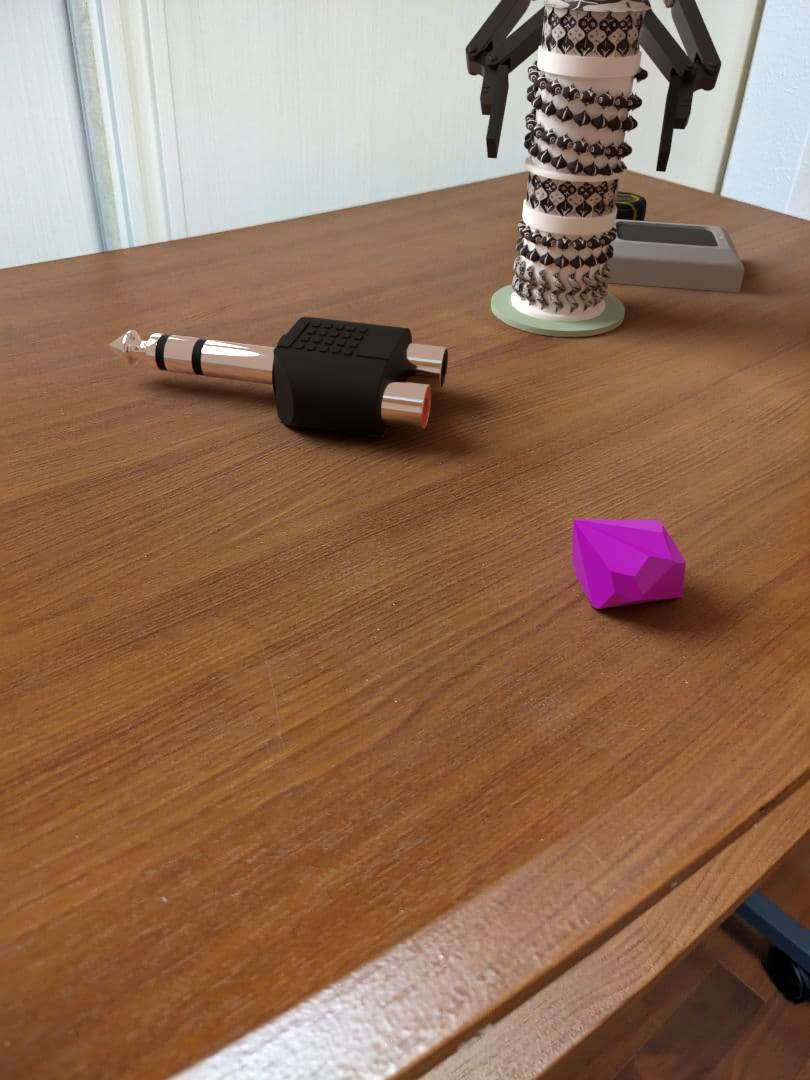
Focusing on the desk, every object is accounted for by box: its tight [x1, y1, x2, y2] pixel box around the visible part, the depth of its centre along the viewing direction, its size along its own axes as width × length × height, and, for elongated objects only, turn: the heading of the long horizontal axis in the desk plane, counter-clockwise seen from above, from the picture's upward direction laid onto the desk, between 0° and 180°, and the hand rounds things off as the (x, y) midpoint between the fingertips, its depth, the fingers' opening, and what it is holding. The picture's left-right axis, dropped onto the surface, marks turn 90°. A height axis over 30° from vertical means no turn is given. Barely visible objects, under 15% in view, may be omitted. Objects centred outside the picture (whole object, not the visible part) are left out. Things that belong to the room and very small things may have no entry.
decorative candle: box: [511, 0, 652, 322], centre depth 76 cm, size 9×9×25 cm
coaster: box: [490, 283, 626, 338], centre depth 83 cm, size 12×12×1 cm
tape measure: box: [615, 190, 647, 221], centre depth 102 cm, size 7×7×4 cm
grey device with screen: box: [606, 219, 745, 293], centre depth 92 cm, size 10×4×15 cm
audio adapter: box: [107, 316, 449, 438], centre depth 67 cm, size 11×5×25 cm
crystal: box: [571, 518, 687, 610], centre depth 49 cm, size 5×5×5 cm
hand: (575, 155), depth 73 cm, fingers open, 13 cm apart
